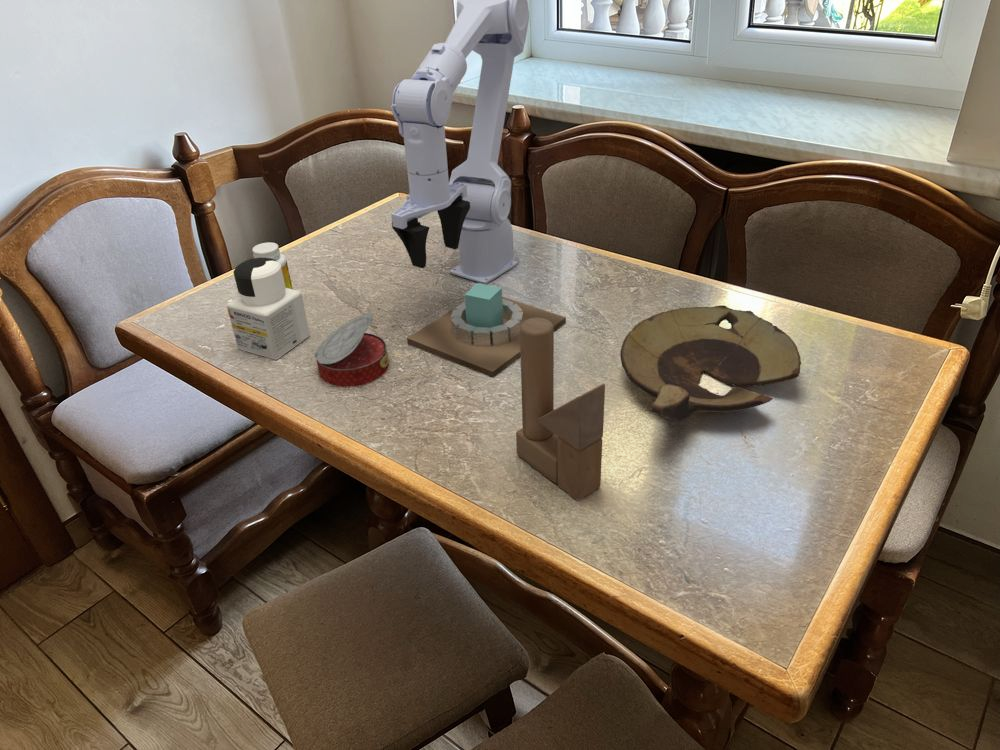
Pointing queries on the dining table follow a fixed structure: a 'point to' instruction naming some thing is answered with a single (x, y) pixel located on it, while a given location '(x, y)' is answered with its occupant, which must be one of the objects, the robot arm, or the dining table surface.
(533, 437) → the wooden block
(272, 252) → the supplement bottle
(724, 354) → the broken plate
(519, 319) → the steel collar
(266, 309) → the container
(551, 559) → the dining table surface
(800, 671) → the dining table surface
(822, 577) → the dining table surface
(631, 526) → the dining table surface
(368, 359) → the canned food
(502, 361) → the walnut board
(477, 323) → the teal peg
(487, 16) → the robot arm
